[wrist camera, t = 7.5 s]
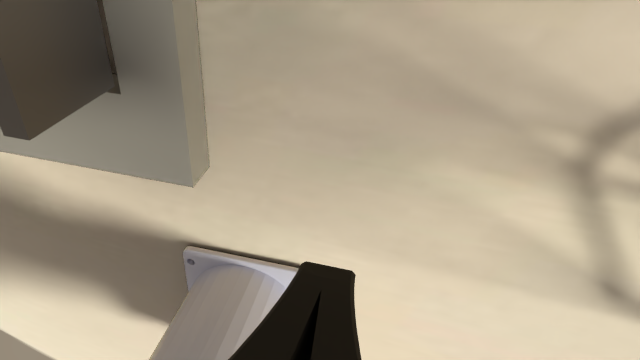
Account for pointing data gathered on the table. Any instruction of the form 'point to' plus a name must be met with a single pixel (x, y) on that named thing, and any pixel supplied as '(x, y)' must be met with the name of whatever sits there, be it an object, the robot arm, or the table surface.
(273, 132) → the table surface
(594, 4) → the table surface
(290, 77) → the table surface
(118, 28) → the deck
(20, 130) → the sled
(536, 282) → the table surface
